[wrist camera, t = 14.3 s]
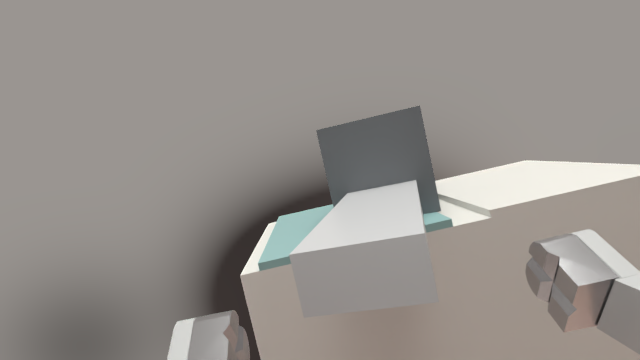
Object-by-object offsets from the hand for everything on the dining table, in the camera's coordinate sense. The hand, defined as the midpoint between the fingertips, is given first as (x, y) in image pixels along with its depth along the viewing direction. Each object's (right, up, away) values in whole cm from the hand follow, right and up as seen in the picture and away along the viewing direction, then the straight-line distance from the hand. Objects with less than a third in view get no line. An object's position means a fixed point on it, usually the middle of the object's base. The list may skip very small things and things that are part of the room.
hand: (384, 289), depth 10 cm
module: (+2, +1, +11) cm, 11 cm away
